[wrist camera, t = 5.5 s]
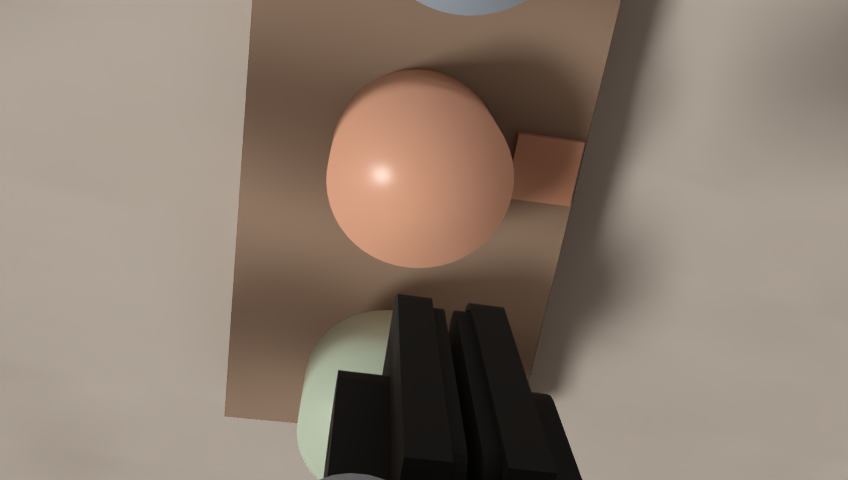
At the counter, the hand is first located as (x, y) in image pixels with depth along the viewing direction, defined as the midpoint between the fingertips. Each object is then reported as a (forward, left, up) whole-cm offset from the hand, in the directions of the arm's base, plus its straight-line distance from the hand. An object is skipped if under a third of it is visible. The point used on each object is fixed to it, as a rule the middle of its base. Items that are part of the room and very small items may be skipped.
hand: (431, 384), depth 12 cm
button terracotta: (+1, -1, -9) cm, 9 cm away
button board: (+1, -1, -12) cm, 12 cm away
